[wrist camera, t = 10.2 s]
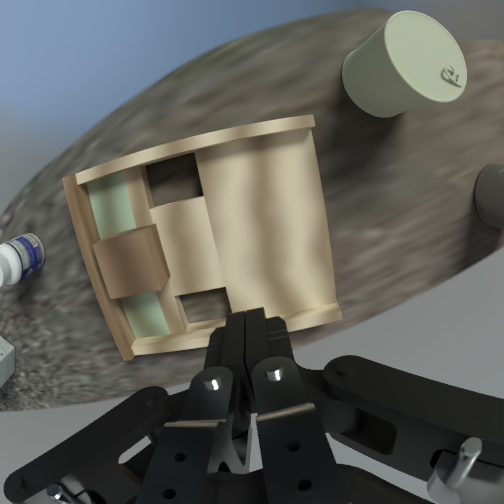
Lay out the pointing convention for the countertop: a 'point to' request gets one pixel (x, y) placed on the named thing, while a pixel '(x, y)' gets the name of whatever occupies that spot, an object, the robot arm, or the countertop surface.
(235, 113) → the countertop surface
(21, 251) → the pill bottle
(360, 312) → the countertop surface
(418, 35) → the can
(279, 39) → the countertop surface
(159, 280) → the block
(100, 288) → the board
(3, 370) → the supplement box
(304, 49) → the countertop surface
